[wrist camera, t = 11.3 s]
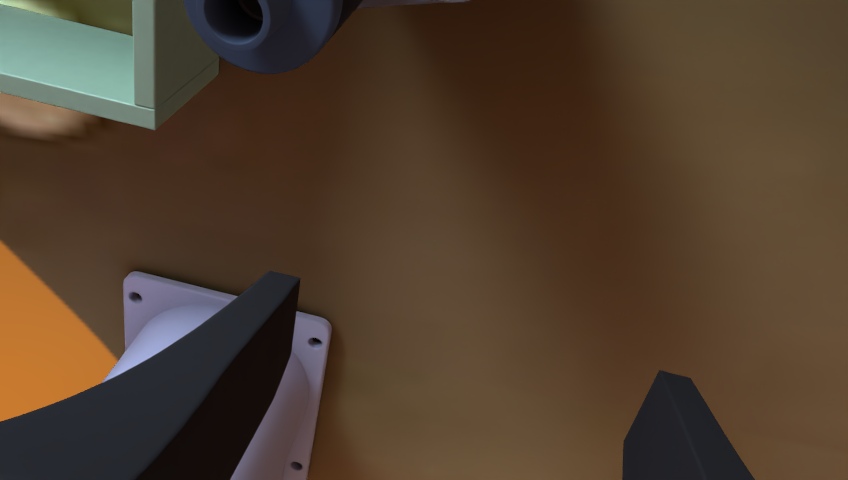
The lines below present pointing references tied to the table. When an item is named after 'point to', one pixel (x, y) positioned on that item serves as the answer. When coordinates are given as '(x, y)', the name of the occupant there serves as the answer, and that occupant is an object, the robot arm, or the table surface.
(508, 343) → the table surface
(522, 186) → the table surface
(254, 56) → the vaping device
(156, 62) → the storage box
